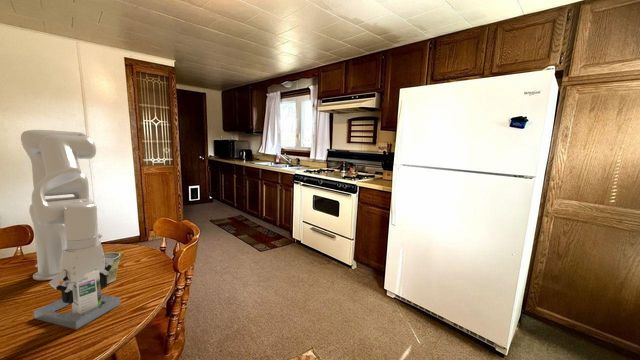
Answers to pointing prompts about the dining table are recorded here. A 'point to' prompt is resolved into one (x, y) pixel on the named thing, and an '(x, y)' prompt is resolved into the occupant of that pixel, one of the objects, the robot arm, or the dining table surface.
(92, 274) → the syrup box
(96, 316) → the grey rectangular frame
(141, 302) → the dining table surface
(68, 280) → the robot arm
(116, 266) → the ceramic cup
